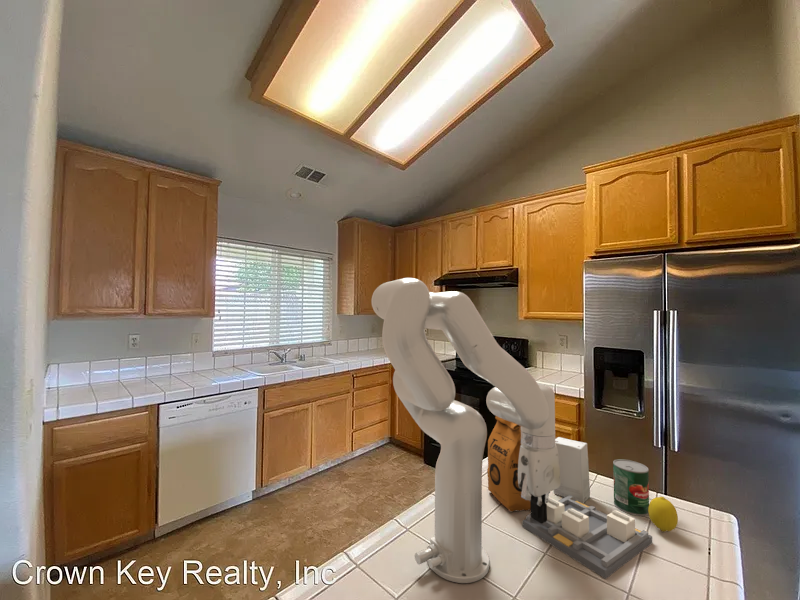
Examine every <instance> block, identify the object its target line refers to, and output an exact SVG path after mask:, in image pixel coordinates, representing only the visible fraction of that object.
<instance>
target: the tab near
mask: <svg viewBox="0 0 800 600" xmlns="http://www.w3.org/2000/svg"><path fill="white" fill-rule="evenodd" d="M606 515H607V534H609V535H611V536H613V537H615V538H616V539H618V540H620V541H622V542H624V543H625V542H627V541H628V540H630V539H631V538H632V537H634V536H635V528H636V519H635V517H632V516H629V515H627V514H625V513H624V512H622V511H621V512H620V511H618V510H616V509H615V510H612V511H611V512H610V513H609V514H608V513H607V514H606Z"/></svg>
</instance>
